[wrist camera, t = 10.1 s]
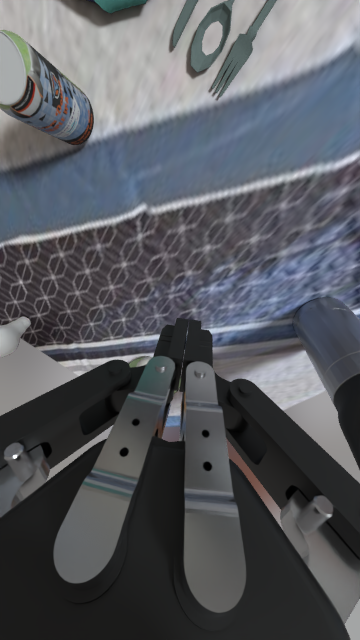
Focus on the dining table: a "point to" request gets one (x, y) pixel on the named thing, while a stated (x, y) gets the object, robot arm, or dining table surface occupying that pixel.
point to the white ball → (143, 361)
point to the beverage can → (41, 93)
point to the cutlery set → (222, 13)
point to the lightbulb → (12, 335)
